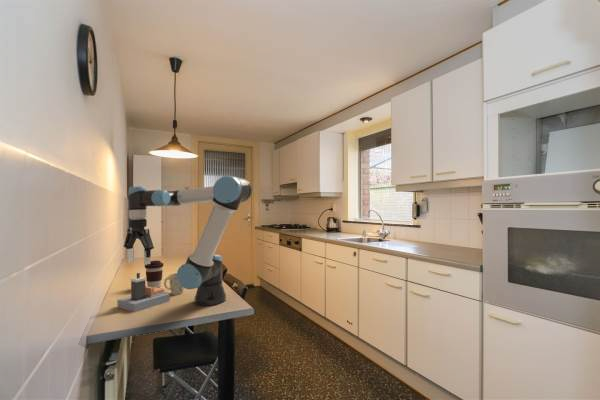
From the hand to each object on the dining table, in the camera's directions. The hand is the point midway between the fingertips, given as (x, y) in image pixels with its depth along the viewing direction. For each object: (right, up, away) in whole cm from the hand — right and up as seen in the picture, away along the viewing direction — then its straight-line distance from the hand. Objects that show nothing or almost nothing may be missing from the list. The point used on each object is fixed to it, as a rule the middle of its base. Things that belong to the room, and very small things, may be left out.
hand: (138, 263), depth 148 cm
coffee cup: (-8, -21, +32) cm, 39 cm away
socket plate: (+1, -20, +3) cm, 21 cm away
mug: (+9, -21, +20) cm, 30 cm away
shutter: (+4, -17, +7) cm, 18 cm away
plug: (0, -20, 0) cm, 20 cm away
